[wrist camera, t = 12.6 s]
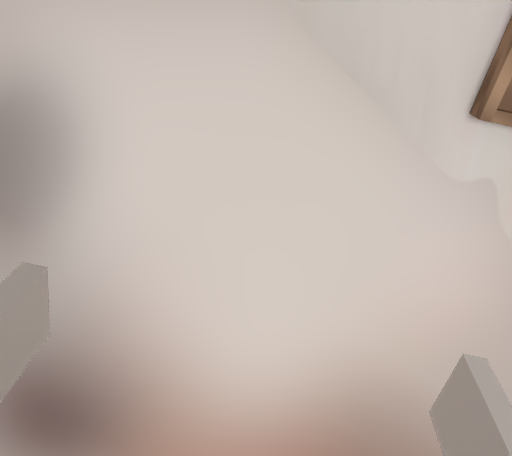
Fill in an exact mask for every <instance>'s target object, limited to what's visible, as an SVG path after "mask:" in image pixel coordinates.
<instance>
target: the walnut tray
mask: <svg viewBox="0 0 512 456" xmlns="http://www.w3.org/2000/svg"><path fill="white" fill-rule="evenodd" d="M470 114H472V115H473V116H475V117H476V118H478V119H479V120H484V121H488V122H493V123H497V124H502V125H506V126H511V127H512V17H511V20H510V22H509V24H508V26H507V29H506V31H505V33H504V36H503V38H502V40H501V43H500V45H499V47H498V49H497V52H496V54H495V56H494V59H493V61H492V63H491V65H490V68H489V70H488V72H487V75H486V77H485V79H484V82H483V84H482V86H481V88H480V91H479V93H478V95H477V98H476V100H475V102H474V104H473V107H472V109H471V111H470Z"/></svg>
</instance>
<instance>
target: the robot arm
mask: <svg viewBox="0 0 512 456" xmlns="http://www.w3.org/2000/svg"><path fill="white" fill-rule="evenodd" d="M48 297H49V295H48V273H47V267H44V266H39V265H34V264H29V263H24V262H22V263H21V264H20V265H19V266H18V267H17V268H16V269H15V270H14V271H13V272H12V273H11V274H10V275H9V276H8V277H7V278H6V279H5V280H4V281H3V282H2V283H1V284H0V403H1V401H2V400H3V398H4V397H5V396H6V395H7V393H8V392H9V390H10V389H11V388H12V386H13V385H14V384H15V382H16V381H17V379H18V378H19V377H20V375H21V374H22V372H23V371H24V369H25V368H26V367H27V366H28V364H29V363H30V361H31V360H32V359H33V357H34V356H35V355H36V353H37V352H38V350H39V349H40V348H41V346H42V345H43V343H44V342H45V341H46V339H47V338H48V337H49V335H50V320H49V298H48ZM429 412H430V416H431V419H432V422H433V425H434V428H435V431H436V435H437V438H438V441H439V444H440V447H441V450H442V453H443V456H512V406H511V404H510V402H509V400H508V398H507V396H506V394H505V392H504V391H503V389H502V387H501V385H500V383H499V381H498V379H497V377H496V375H495V373H494V372H493V370H492V368H491V366H490V364H489V362H488V360H487V359H485V358H480V357H475V356H470V355H466V354H463V355H462V357H461V358H460V360H459V362H458V364H457V365H456V367H455V369H454V370H453V372H452V374H451V376H450V377H449V379H448V381H447V382H446V384H445V386H444V388H443V389H442V391H441V393H440V394H439V396H438V398H437V399H436V401H435V403H434V405H433V406H432V408H431V410H430V411H429Z"/></svg>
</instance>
